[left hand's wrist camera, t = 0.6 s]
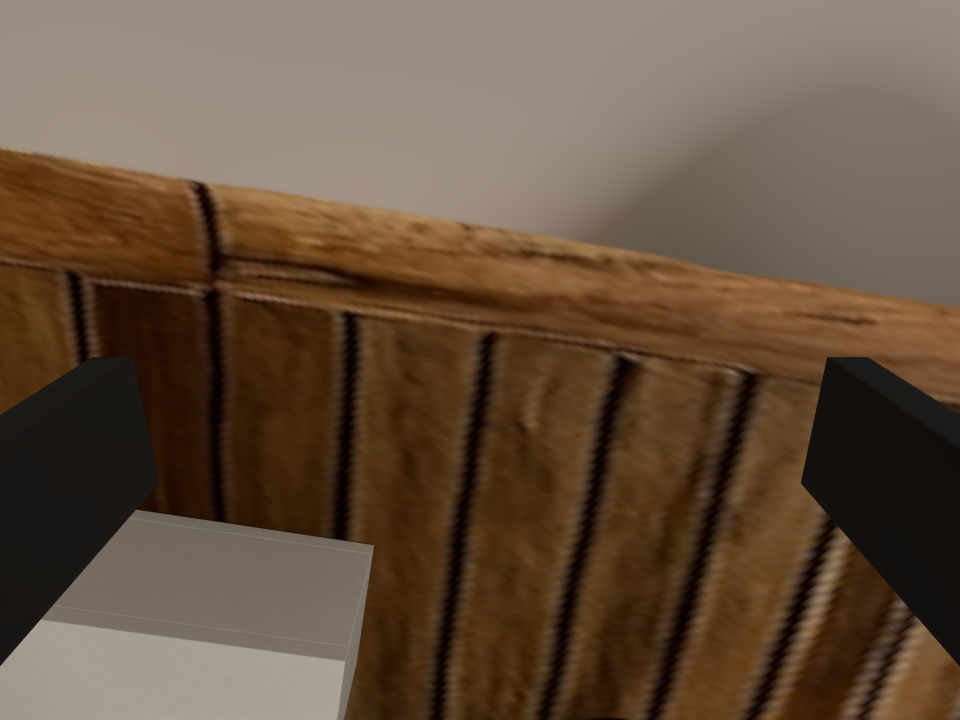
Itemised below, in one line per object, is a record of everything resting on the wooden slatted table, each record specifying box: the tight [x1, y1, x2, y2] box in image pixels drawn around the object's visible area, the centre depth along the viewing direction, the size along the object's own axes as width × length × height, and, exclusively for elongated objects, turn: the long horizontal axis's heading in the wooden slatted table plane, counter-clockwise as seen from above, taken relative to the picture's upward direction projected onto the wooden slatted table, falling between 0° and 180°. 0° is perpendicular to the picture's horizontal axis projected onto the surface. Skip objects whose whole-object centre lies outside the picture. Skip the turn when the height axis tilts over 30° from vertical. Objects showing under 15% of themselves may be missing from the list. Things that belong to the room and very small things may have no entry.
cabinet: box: [0, 510, 374, 720], centre depth 43 cm, size 21×11×10 cm, turn 80°
